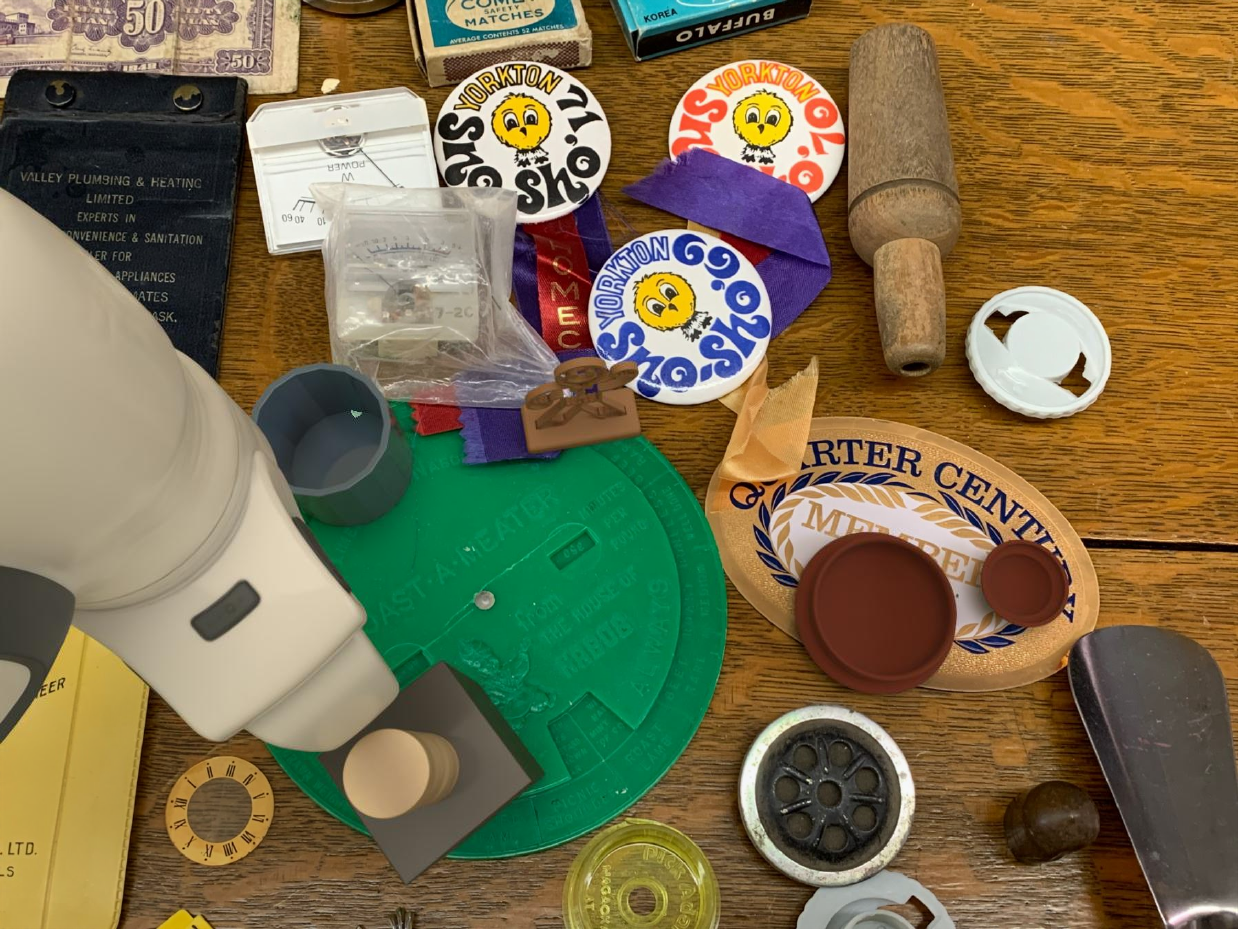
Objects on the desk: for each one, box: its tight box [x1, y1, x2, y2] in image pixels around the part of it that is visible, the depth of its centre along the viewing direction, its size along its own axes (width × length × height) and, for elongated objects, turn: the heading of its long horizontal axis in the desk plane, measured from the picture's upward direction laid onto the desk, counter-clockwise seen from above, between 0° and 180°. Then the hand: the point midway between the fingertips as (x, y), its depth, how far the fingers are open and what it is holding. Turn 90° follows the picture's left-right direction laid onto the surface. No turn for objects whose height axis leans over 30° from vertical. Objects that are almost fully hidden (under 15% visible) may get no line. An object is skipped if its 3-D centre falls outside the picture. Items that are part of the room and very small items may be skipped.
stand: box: [316, 659, 546, 886], centre depth 58 cm, size 8×8×18 cm
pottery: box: [794, 531, 1070, 696], centre depth 69 cm, size 12×20×4 cm, turn 100°
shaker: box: [343, 728, 459, 819], centre depth 45 cm, size 4×4×10 cm
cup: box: [250, 362, 414, 527], centre depth 68 cm, size 9×9×9 cm
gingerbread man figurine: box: [520, 356, 642, 455], centre depth 69 cm, size 9×4×12 cm, turn 101°
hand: (263, 567), depth 46 cm, fingers open, 8 cm apart
